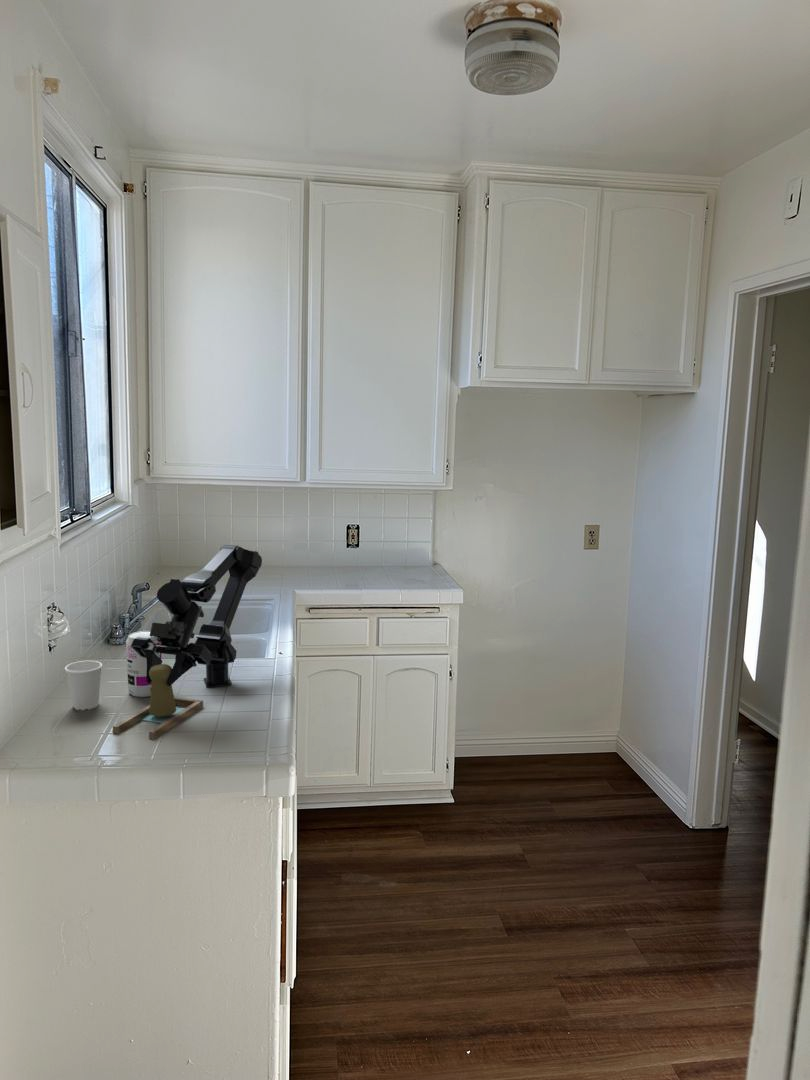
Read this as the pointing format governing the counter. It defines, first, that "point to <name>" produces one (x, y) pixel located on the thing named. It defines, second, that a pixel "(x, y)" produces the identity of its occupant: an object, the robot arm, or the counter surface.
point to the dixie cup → (84, 683)
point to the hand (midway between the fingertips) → (157, 684)
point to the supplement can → (138, 666)
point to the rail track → (161, 717)
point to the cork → (161, 691)
